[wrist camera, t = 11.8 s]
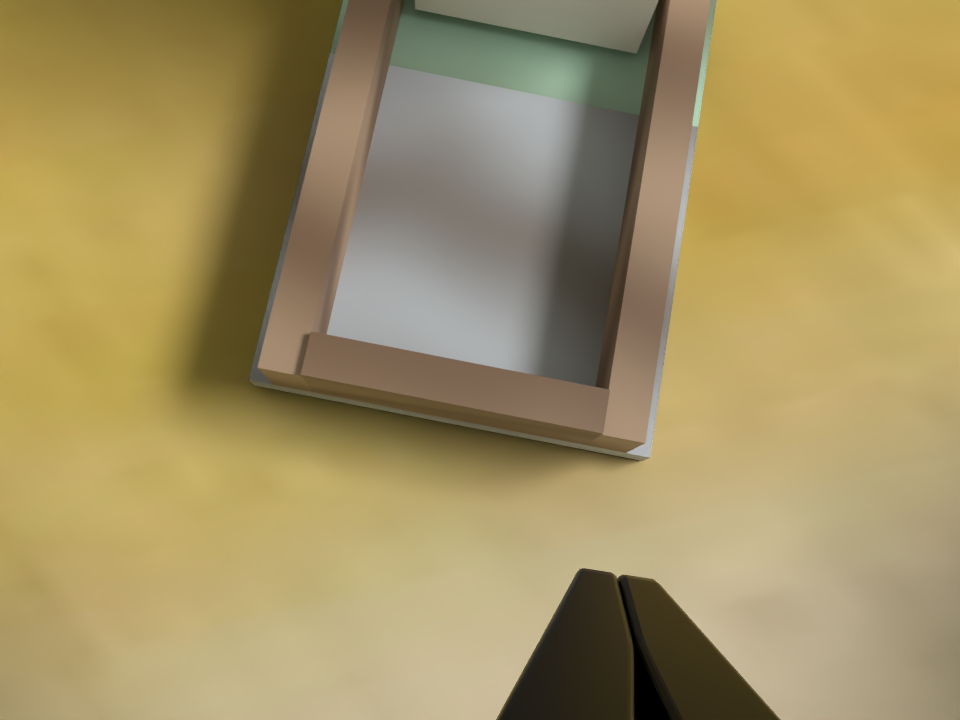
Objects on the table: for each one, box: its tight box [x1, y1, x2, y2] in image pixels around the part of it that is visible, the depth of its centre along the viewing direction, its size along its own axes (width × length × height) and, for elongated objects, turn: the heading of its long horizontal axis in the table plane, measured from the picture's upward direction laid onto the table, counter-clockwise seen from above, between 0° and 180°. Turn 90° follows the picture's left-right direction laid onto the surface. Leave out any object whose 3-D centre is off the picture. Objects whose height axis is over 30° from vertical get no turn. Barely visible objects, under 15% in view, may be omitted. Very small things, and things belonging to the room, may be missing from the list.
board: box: [248, 0, 716, 461], centre depth 23 cm, size 18×10×3 cm, turn 170°
